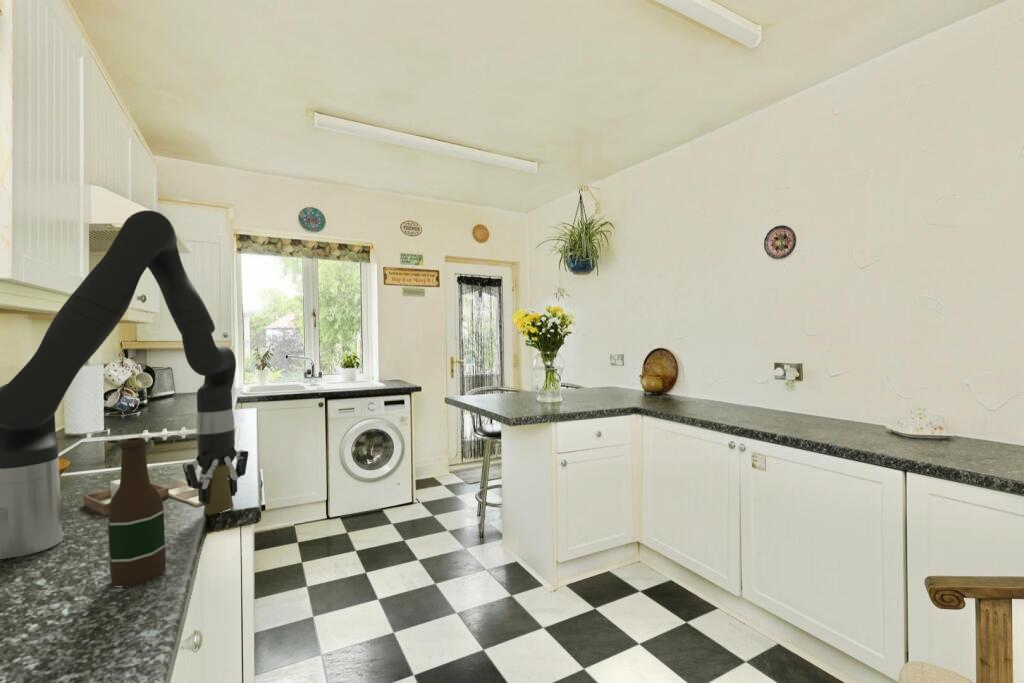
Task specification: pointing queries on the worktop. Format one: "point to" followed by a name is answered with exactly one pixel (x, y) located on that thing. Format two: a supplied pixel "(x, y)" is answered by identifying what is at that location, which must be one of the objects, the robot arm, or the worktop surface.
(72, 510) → the worktop surface
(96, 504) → the dice tray
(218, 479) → the cork
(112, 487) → the die
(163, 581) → the worktop surface
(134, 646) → the worktop surface
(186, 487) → the board
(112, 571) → the beer bottle
